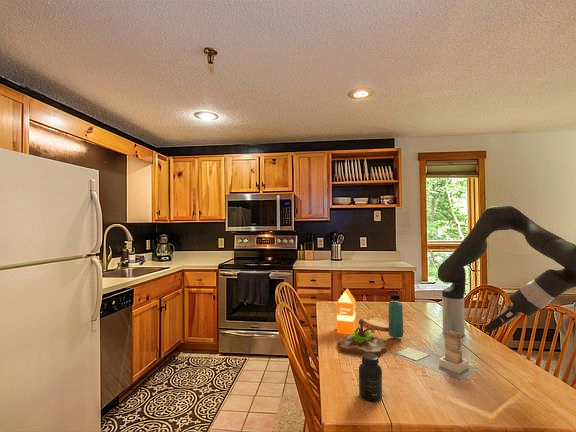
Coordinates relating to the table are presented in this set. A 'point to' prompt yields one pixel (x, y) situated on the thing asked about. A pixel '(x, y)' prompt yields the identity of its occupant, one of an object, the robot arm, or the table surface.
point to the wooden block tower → (453, 347)
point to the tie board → (437, 362)
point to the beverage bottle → (395, 317)
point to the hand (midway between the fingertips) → (489, 327)
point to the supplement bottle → (370, 378)
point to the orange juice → (346, 313)
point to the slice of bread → (375, 323)
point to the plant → (362, 343)
